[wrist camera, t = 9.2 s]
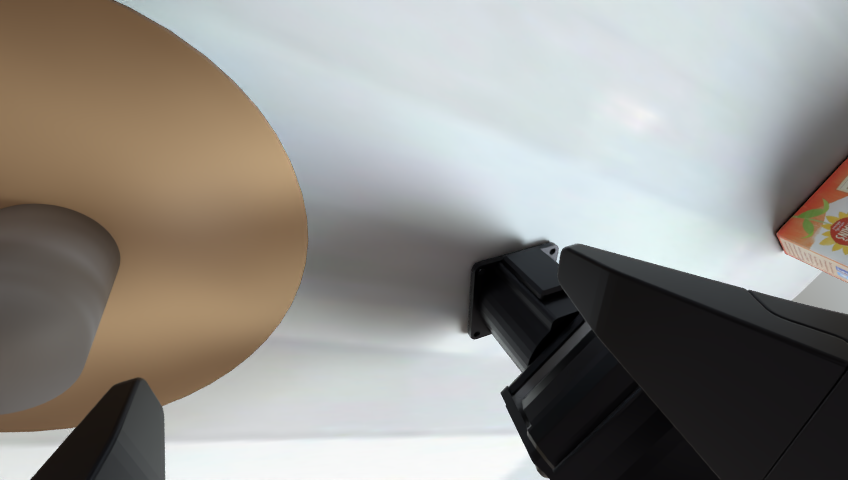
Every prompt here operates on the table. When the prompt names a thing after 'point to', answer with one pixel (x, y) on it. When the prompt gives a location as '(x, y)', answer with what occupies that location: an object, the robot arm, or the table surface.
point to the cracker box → (821, 227)
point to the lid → (131, 213)
